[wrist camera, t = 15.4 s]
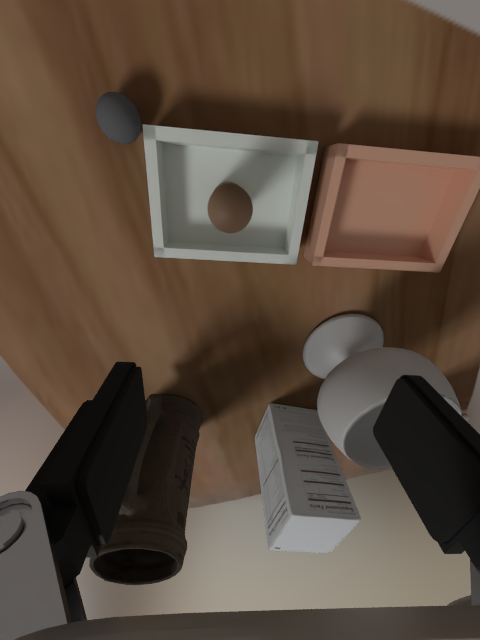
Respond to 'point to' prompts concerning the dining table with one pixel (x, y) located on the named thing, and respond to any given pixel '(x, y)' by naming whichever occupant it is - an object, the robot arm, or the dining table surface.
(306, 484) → the supplement box
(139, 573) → the beer stein
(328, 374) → the chalice
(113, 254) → the dining table surface
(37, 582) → the robot arm
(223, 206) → the walnut peg
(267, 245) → the grey tub
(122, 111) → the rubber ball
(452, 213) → the terracotta tub
